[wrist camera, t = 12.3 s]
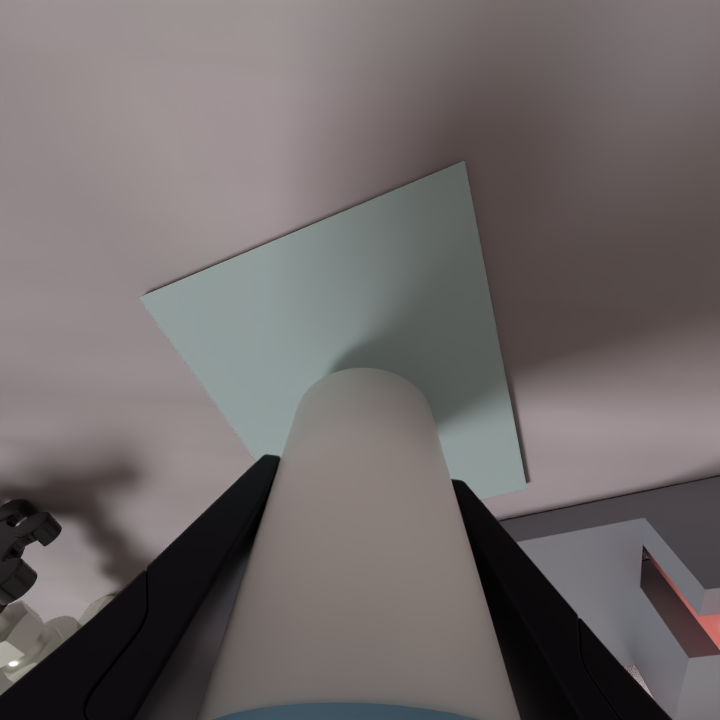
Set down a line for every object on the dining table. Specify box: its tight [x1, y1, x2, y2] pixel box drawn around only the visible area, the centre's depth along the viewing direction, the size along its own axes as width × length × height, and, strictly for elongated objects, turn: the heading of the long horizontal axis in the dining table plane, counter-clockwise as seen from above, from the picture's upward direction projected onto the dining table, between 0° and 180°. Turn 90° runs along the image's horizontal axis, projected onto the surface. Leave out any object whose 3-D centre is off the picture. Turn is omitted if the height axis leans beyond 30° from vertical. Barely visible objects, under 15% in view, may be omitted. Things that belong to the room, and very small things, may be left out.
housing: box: [499, 476, 720, 720], centre depth 16 cm, size 14×19×4 cm
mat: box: [139, 161, 527, 499], centre depth 11 cm, size 12×10×1 cm
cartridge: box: [196, 368, 521, 720], centre depth 7 cm, size 5×5×8 cm
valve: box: [0, 499, 116, 695], centre depth 14 cm, size 7×7×12 cm
